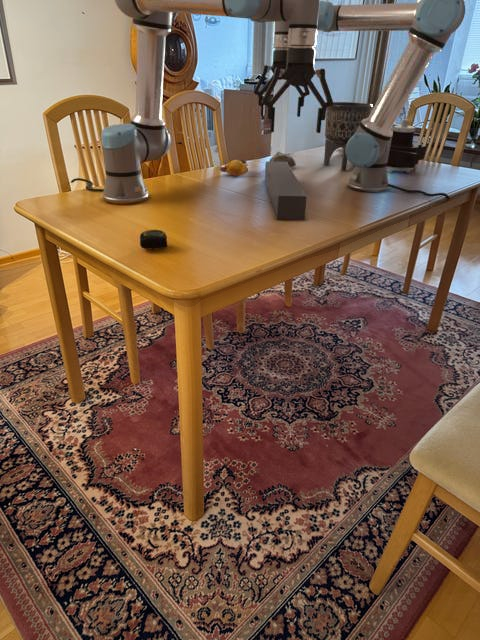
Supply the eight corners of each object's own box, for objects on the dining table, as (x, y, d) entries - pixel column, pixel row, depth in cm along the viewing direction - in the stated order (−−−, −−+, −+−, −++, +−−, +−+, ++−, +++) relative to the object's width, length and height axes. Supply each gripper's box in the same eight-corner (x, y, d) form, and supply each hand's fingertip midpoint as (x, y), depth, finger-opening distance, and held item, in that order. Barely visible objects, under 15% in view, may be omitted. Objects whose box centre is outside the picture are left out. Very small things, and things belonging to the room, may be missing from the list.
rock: (286, 164, 212) (287, 149, 208) (299, 167, 206) (301, 152, 203) (265, 168, 204) (266, 153, 201) (279, 171, 199) (280, 156, 195)
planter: (313, 167, 208) (319, 103, 195) (331, 160, 222) (338, 101, 209) (353, 173, 199) (362, 107, 185) (369, 166, 213) (379, 104, 199)
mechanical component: (372, 119, 196) (401, 114, 216) (364, 169, 206) (392, 160, 226) (421, 124, 184) (447, 118, 203) (410, 177, 194) (436, 167, 214)
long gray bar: (264, 180, 185) (265, 161, 181) (285, 180, 185) (286, 161, 182) (276, 219, 140) (278, 195, 137) (304, 220, 141) (306, 196, 137)
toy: (217, 168, 186) (223, 160, 199) (223, 183, 189) (228, 174, 202) (243, 159, 183) (247, 151, 195) (248, 175, 186) (252, 166, 198)
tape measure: (140, 252, 115) (139, 238, 113) (141, 242, 120) (140, 229, 119) (167, 251, 116) (166, 237, 114) (167, 241, 121) (166, 228, 120)
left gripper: (256, 46, 118) (253, 133, 129) (350, 48, 119) (340, 134, 130) (254, 46, 125) (252, 129, 136) (344, 48, 126) (334, 130, 136)
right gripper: (248, 48, 154) (247, 116, 164) (321, 50, 155) (315, 117, 165) (247, 48, 160) (246, 114, 171) (317, 50, 161) (311, 115, 172)
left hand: (295, 132), depth 133 cm, fingers open, 13 cm apart
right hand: (280, 116), depth 168 cm, fingers open, 13 cm apart
